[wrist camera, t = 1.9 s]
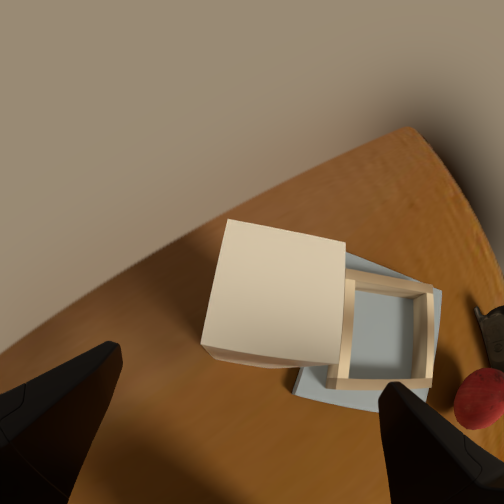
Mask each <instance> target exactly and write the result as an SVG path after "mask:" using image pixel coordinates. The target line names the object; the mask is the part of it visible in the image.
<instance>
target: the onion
mask: <svg viewBox="0 0 504 504" xmlns="http://www.w3.org/2000/svg"><path fill="white" fill-rule="evenodd" d="M454 413H455V416H456V419H457V421H458V422H459V423H460V424H461V425H462V426H463V427H465V428H466V429H470V430H476V429H481V428H486V427H488V426H490V425H492V424H493V423H494V422H495V421H497V420H498V419H499V418H500V417H501V416H502V415H503V414H504V373H503V372H502V371H500V370H497V369H493V368H481V369H479V370H476V371H475V372H473V373H471V374H470V375H469V376H468V377H467V378H466V379H465V380H464V381H463V383H462V384H461V386H460V387H459V389H458V391H457V393H456V396H455V399H454Z"/></svg>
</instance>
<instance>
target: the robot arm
mask: <svg viewBox="0 0 504 504" xmlns="http://www.w3.org/2000/svg"><path fill="white" fill-rule="evenodd" d="M122 366H123V360H122V353H121V347H120V345H119V344H118V343H115V342H112V341H106V342H104V343H102V344H100V345H98V346H96V347H94V348H92V349H90V350H89V351H87V352H85V353H83V354H81V355H79V356H77V357H75V358H73V359H71V360H69V361H67V362H65V363H63V364H61V365H59V366H57V367H56V368H54V369H52V370H50V371H48V372H46V373H44V374H42V375H40V376H38V377H36V378H34V379H32V380H30V381H28V382H26V384H25V383H24V384H22V385H20V386H18V387H16V388H14V389H12V390H9V391H7V392H5V393H3V394H0V504H67V503H68V500H69V497H70V495H71V492H72V489H73V487H74V484H75V482H76V479H77V477H78V474H79V472H80V469H81V467H82V465H83V462H84V460H85V458H86V455H87V453H88V451H89V448H90V446H91V444H92V441H93V439H94V437H95V435H96V433H97V430H98V428H99V426H100V424H101V422H102V420H103V417H104V415H105V413H106V411H107V409H108V407H109V404H110V401H111V399H112V396H113V393H114V390H115V387H116V384H117V381H118V378H119V375H120V373H121V370H122ZM378 409H379V419H380V431H381V439H382V445H383V451H384V457H385V463H386V469H387V475H388V482H389V489H390V497H391V504H504V462H502V461H501V460H499V459H498V458H496V457H495V456H493V455H492V454H490V453H489V452H487V451H486V450H484V449H483V448H481V447H480V446H478V445H477V444H476V443H475V442H473V441H472V440H471V439H469V438H468V437H467V436H466V435H463V433H462V432H461V431H460V430H458V429H457V428H456V427H455V426H453V425H452V424H451V423H450V422H449V421H447V420H446V419H445V418H444V417H442V416H441V415H440V414H439V413H438V412H436V411H435V410H434V409H433V408H432V407H430V406H429V405H428V404H427V403H425V402H424V401H423V400H422V399H421V398H419V397H418V396H417V395H416V394H415V393H413V392H412V391H411V390H410V389H408V388H407V387H406V386H405V385H404V384H402V383H401V382H399V381H392V382H389V383H388V384H387V385H386V387H385V388H384V390H383V391H382V393H381V394H380V396H379V398H378Z"/></svg>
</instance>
